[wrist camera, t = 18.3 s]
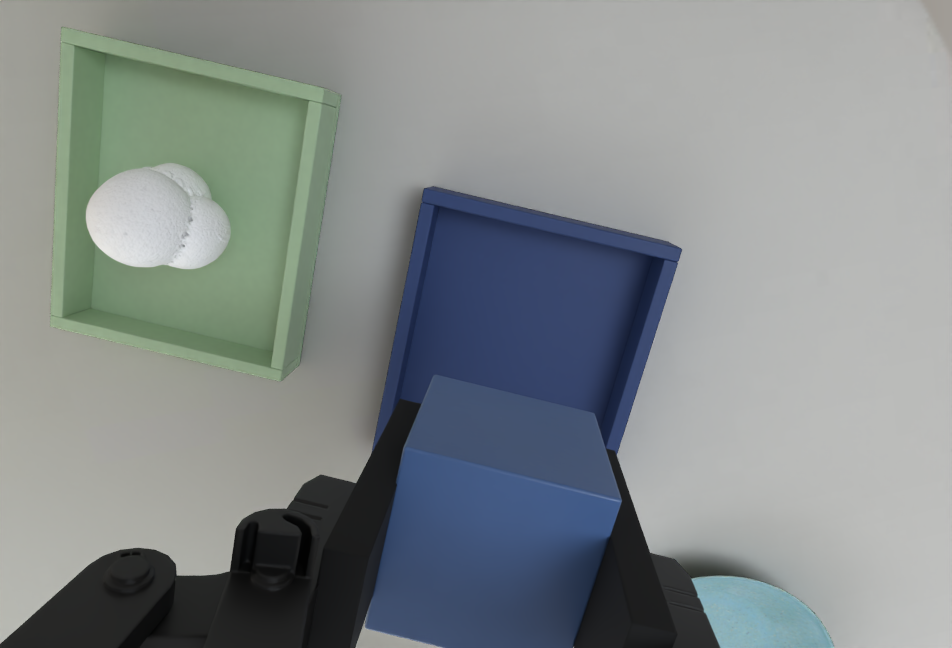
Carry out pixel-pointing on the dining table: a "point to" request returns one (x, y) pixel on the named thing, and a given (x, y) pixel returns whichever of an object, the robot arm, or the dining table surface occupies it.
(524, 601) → the blue block
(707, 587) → the saucer
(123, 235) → the microfossil shell
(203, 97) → the pale tray
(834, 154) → the dining table surface
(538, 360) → the blue tray
